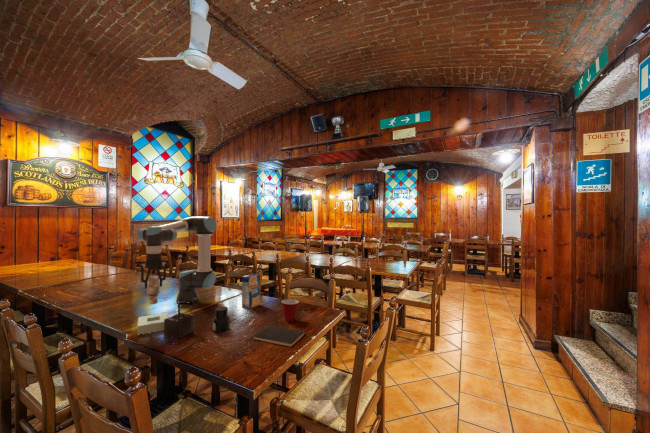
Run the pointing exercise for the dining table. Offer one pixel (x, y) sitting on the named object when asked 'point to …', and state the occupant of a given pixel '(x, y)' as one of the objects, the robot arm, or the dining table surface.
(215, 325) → the ink bottle
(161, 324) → the board
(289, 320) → the plastic cup
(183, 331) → the dark boxy piece
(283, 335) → the hardcover book
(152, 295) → the peg
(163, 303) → the dining table surface
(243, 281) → the blue yellow cereal box
